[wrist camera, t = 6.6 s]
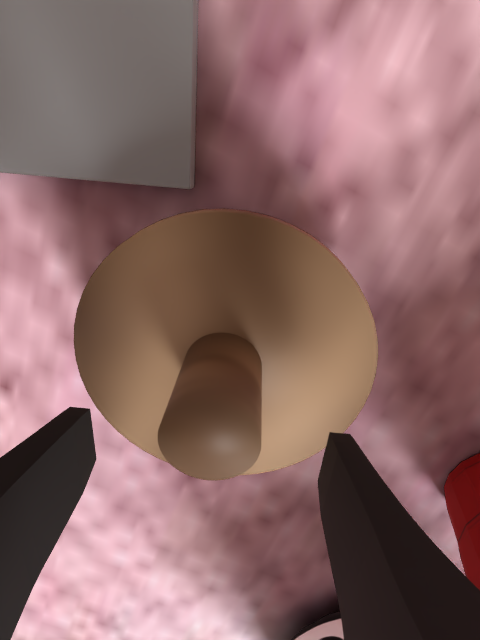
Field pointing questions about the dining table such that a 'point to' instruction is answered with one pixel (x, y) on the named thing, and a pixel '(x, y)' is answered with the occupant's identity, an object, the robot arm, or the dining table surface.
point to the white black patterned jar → (323, 629)
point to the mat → (99, 90)
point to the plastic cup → (466, 513)
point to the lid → (225, 343)
